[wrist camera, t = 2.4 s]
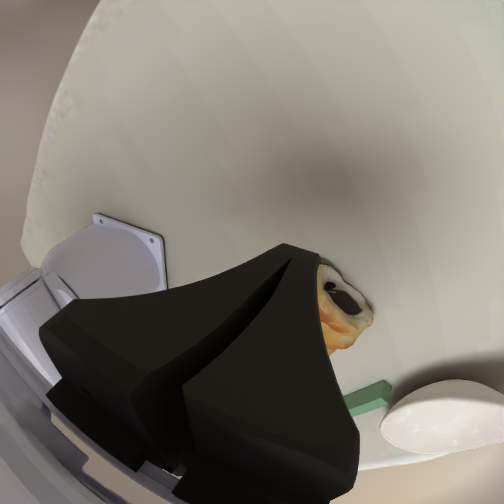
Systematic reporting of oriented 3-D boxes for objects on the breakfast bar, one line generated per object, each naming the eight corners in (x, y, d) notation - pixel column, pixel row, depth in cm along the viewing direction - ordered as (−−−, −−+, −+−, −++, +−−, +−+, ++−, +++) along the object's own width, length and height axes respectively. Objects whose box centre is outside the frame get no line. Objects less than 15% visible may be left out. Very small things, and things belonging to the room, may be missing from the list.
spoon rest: (411, 436, 25) (401, 490, 19) (363, 385, 24) (346, 452, 18) (593, 349, 11) (611, 404, 5) (591, 262, 9) (631, 321, 4)
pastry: (301, 359, 25) (287, 391, 22) (244, 311, 25) (223, 340, 22) (382, 307, 19) (377, 344, 16) (314, 244, 20) (298, 273, 16)
